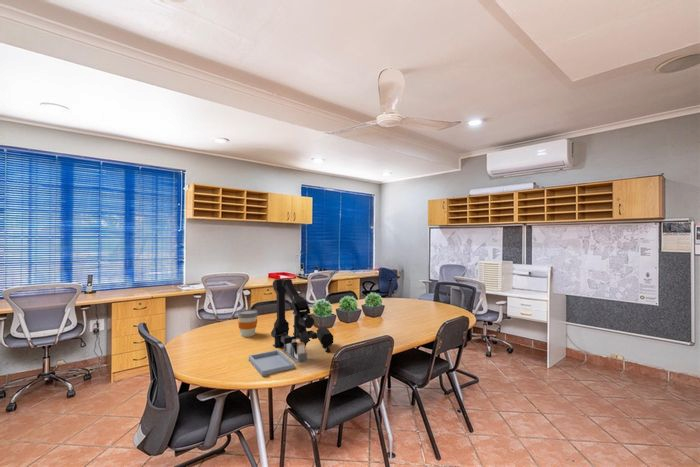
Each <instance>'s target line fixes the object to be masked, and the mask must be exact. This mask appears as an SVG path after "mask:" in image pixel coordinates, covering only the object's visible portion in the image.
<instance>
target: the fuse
mask: <svg viewBox="0 0 700 467" xmlns="http://www.w3.org/2000/svg"><path fill="white" fill-rule="evenodd" d="M289 336H290V337H292V336H293V335H289ZM290 348H293V347H292V345H291V343H289V344H286V351H287V352H288V353H290Z"/></svg>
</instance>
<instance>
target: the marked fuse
mask: <svg viewBox="0 0 700 467" xmlns="http://www.w3.org/2000/svg"><path fill="white" fill-rule="evenodd" d="M296 342H297V354H295V352H294V357H296V358H297V359H298V354H303V353H306V351H305V349H306V347H305V343H304V342H300V340H299V339H297V340H296Z"/></svg>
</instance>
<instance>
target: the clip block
mask: <svg viewBox="0 0 700 467" xmlns="http://www.w3.org/2000/svg"><path fill="white" fill-rule="evenodd" d="M280 352H281V353H282V354H284V355H285V356H286V357H287V358H288V359H289V360H290V361H292V362H293V363H294V364H298V363H303V362H308V361H310V359H309V358H308V354H307V352H305V353H303V354H298V359H297V358H296V357H294V349H293V348H290V353H288V352H287V351H286V344H284V347H283V349H282V350H281V351H280Z"/></svg>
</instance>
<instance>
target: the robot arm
mask: <svg viewBox="0 0 700 467" xmlns="http://www.w3.org/2000/svg"><path fill="white" fill-rule="evenodd" d="M272 287H273V291H274V293H275V294H276V320H275V322H274V323H273V329H272V330H271V332H270V334H271V335H270V336H271V337H272V338H273V339H274V344H272V347H274V348H275V349H280V348H284V344H289V343H291V345H292V347H293V349H294V352H295V354H297V342H296V341H298V340H300V342H304V343H305V348H306V346H307V344H308V343H309V342H311V340H315V339H316V340H317V339H318V338H317V332H315V330H307V329H311V328H313V327H314V324H315V320H314V317H312V315H311V309H310V306H309V304H308V301H307V300H306V299H305V298H304V296H301V295H300V294H299V292H298V290H297V289H296V287H295V285H294V284H293V280H292V279H291V278H277V279H274V281H272ZM286 293H287V294H288V297H289V298H290V301H291V304H290V306H291V309H292V311H293V312H292V314H293V322H294V323H293V326H292V327H293V333H292V334H293V335H289V331H290V323H289V322H288V321H287V320H286ZM290 336H292V337H290Z"/></svg>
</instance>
